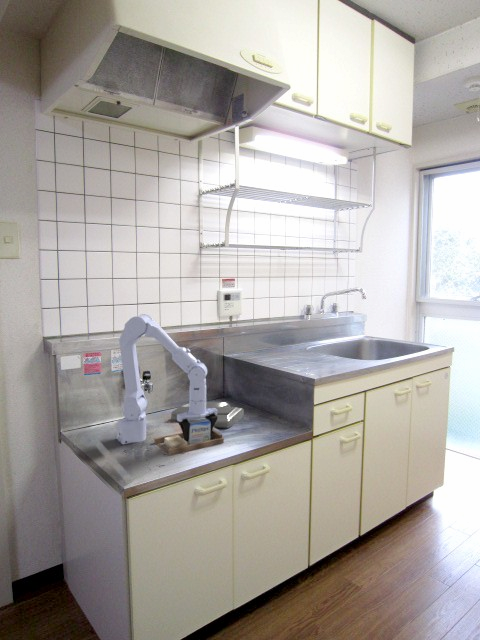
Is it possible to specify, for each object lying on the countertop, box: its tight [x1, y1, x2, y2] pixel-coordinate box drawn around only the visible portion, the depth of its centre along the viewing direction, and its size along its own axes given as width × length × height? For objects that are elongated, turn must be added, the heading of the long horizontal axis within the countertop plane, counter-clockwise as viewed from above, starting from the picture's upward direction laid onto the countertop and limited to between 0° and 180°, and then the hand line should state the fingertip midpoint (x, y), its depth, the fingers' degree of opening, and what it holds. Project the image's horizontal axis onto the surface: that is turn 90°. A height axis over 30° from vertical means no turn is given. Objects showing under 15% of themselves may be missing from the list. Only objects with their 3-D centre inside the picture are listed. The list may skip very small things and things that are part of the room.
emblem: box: [170, 401, 245, 429], centre depth 176 cm, size 28×5×28 cm
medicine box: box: [187, 418, 211, 445], centre depth 148 cm, size 8×4×9 cm, turn 122°
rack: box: [153, 428, 225, 456], centre depth 146 cm, size 20×12×4 cm, turn 124°
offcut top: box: [163, 435, 188, 449], centre depth 144 cm, size 5×7×2 cm
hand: (197, 438), depth 148 cm, fingers closed on medicine box, 7 cm apart
